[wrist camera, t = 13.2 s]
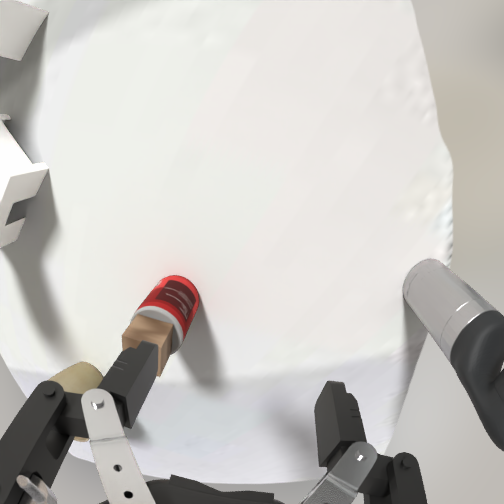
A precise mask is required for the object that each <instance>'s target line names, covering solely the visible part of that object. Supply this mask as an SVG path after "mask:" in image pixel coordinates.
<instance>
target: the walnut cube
mask: <svg viewBox="0 0 504 504" xmlns="http://www.w3.org/2000/svg"><path fill="white" fill-rule="evenodd" d="M172 335H173V324H171V323H167V322H164V321H160V320H157V319H153V318H150V317H147V316H143V315H140V314H137V315H136V317H135V318H134V319H133V321H132V322H131V324H130V325H129V326H128V328H127V329H126V330H125V332H124V333H123V334H122V347H123V351H124V350H126V349H127V348H129V347H132V348H135V349H137V347H138V345H139V344H140V342H141V341H142V340H145V341H148V342H151V343H155V344H158V372H157V376H159V377H160V376H161V374H162V371H163V369H164V367H165V365H166V363H167V361H168V358H169V356H170V354H171V347H172Z"/></svg>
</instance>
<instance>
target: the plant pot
mask: <svg viewBox="0 0 504 504" xmlns="http://www.w3.org/2000/svg"><path fill="white" fill-rule="evenodd" d="M49 380H51V381H55V382H58V383H59V384H60V385H61V386H62V387H63V389H64V391H66V392H72V393H78V394H84V393H85V392H86V391H88V390H91V389H96V388H97V387H98V386H99V384H100V383H101V381H102V380H103V377H102V375H101V373H100V372H99V371H98V370H97V369H96V368H95V367H94V366H93V365H91V364H89V363H87V362H79V363H77V364H75V365H73V366H70V367H68V368H67V369H65V370H63V371H61V372H59V373H58V374H56V375H55V376H53V377H51V378H50V379H49ZM47 381H48V380H47ZM74 440H76V441H79V442H87V441H88V440H89V439H88V438H81V437H76V436H75V438H74Z"/></svg>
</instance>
